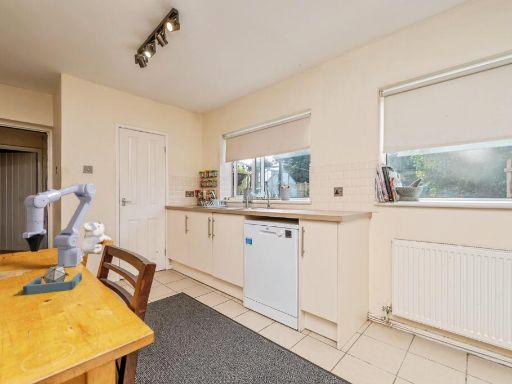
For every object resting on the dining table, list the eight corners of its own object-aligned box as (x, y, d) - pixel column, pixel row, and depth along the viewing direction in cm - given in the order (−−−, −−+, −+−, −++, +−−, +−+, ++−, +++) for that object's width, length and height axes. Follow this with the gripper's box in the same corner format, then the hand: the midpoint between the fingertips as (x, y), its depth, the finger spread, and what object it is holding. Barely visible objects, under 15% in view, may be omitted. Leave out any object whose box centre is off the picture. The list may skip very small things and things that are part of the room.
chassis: (82, 279, 106) (82, 272, 106) (72, 289, 95) (72, 281, 95) (38, 284, 101) (38, 276, 101) (22, 295, 90) (22, 286, 90)
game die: (49, 296, 98) (33, 276, 98) (71, 282, 105) (57, 263, 105) (53, 290, 93) (36, 269, 93) (77, 275, 100) (61, 256, 100)
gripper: (36, 222, 108) (36, 254, 107) (53, 220, 122) (53, 248, 121) (16, 223, 106) (16, 255, 105) (36, 220, 120) (35, 248, 119)
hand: (34, 251), depth 113 cm, fingers closed
